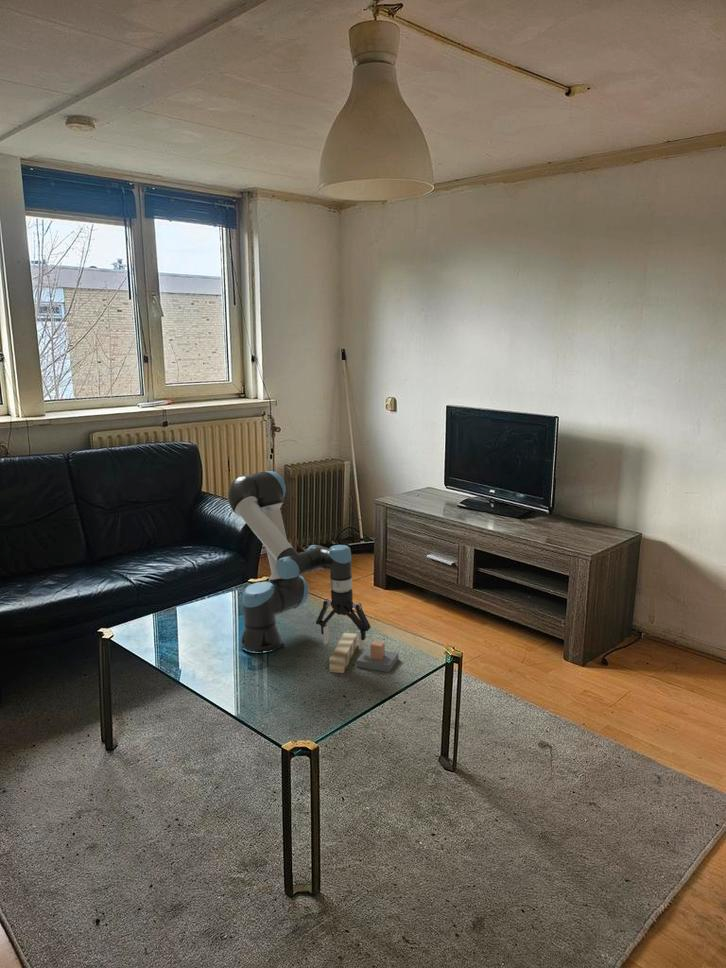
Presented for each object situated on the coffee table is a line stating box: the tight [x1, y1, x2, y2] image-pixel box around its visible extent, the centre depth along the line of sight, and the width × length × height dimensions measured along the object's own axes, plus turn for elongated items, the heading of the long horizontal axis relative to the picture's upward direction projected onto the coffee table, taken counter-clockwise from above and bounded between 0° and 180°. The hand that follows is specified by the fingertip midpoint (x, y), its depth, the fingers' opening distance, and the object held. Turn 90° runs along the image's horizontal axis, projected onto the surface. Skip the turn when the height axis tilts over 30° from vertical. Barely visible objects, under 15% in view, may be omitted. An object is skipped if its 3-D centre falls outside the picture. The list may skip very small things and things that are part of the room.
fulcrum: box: [356, 640, 399, 673], centre depth 241 cm, size 12×10×8 cm
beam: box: [328, 632, 358, 674], centre depth 246 cm, size 22×5×5 cm, turn 168°
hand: (343, 645), depth 245 cm, fingers open, 13 cm apart
